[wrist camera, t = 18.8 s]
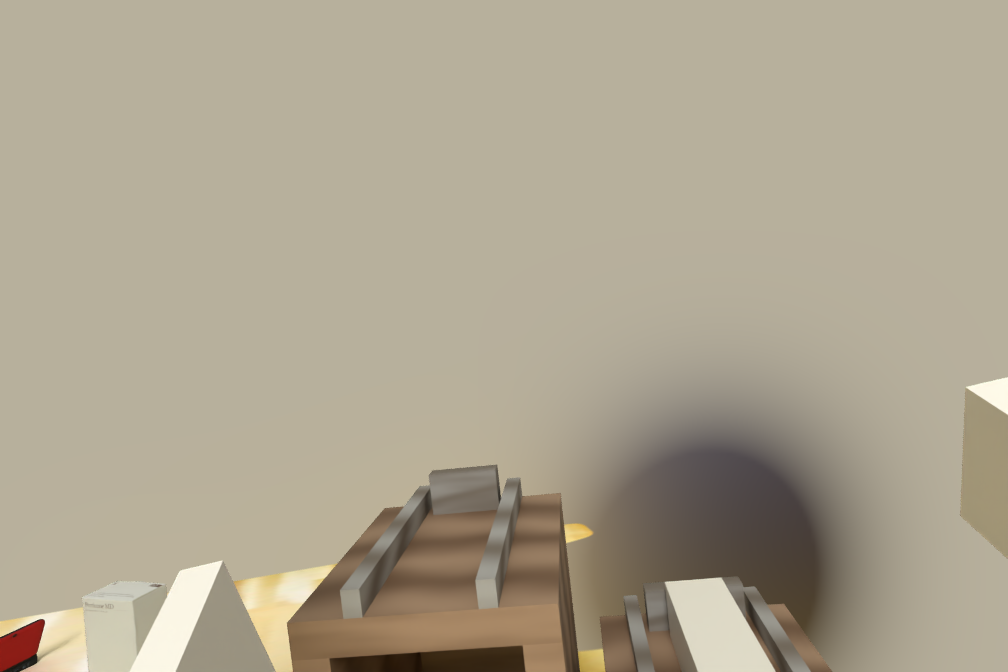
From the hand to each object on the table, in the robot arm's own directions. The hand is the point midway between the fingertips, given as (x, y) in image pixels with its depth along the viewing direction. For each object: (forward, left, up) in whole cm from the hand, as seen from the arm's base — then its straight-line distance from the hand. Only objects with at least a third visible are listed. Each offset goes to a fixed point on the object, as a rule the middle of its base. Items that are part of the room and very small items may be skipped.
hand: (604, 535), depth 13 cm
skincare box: (-76, +53, -41) cm, 101 cm away
